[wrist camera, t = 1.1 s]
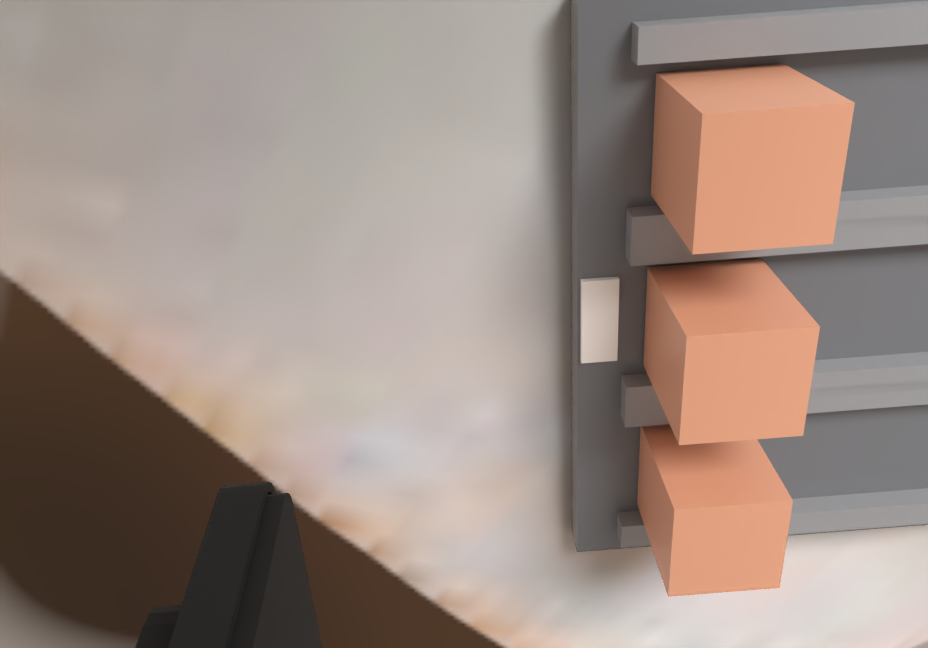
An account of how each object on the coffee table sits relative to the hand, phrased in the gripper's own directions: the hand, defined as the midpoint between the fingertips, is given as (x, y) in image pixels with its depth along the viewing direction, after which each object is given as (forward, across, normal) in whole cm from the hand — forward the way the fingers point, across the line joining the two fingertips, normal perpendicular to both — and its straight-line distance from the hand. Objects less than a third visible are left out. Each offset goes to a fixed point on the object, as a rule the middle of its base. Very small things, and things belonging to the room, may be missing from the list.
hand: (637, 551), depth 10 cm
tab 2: (+17, -6, +6) cm, 19 cm away
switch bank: (+18, -10, +6) cm, 21 cm away
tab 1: (+17, -6, 0) cm, 18 cm away
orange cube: (+17, -6, +12) cm, 21 cm away
